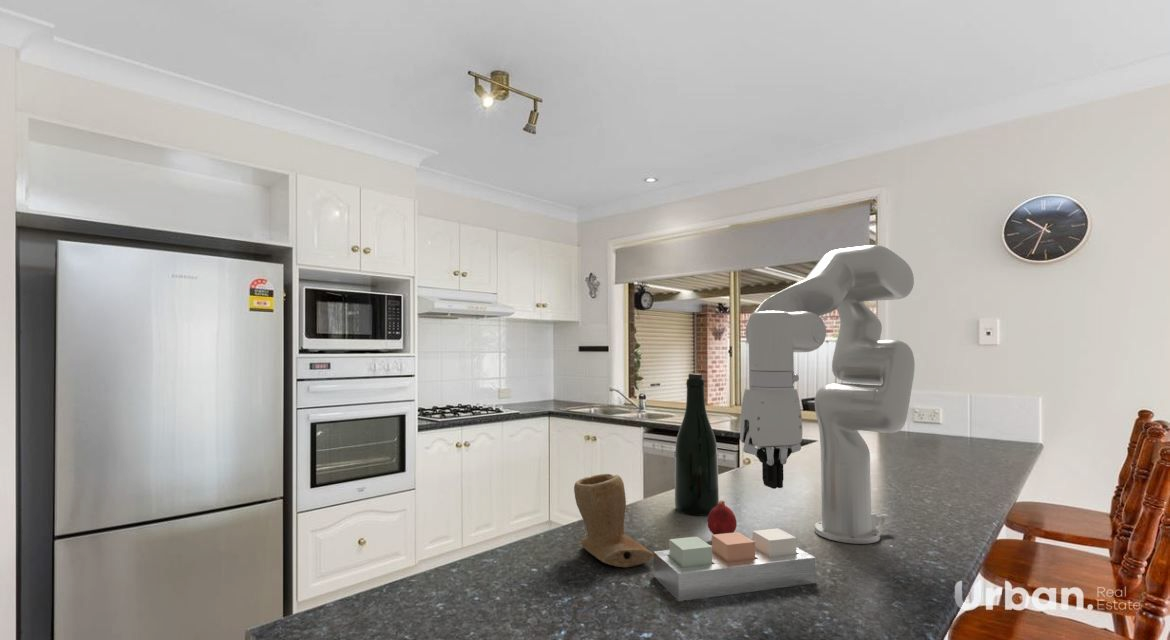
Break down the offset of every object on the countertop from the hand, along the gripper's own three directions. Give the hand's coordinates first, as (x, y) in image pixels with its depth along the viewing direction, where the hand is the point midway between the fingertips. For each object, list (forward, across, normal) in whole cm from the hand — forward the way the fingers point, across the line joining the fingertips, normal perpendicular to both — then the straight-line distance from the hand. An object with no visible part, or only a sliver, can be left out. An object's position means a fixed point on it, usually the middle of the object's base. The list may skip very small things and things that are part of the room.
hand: (773, 486), depth 99 cm
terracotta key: (+11, +8, 0) cm, 14 cm away
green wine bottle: (+15, -5, -39) cm, 42 cm away
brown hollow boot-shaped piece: (+15, +25, -16) cm, 33 cm away
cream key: (+11, 0, 0) cm, 11 cm away
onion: (+15, 0, -18) cm, 24 cm away
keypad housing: (+15, +8, 0) cm, 17 cm away
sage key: (+11, +16, 0) cm, 20 cm away
